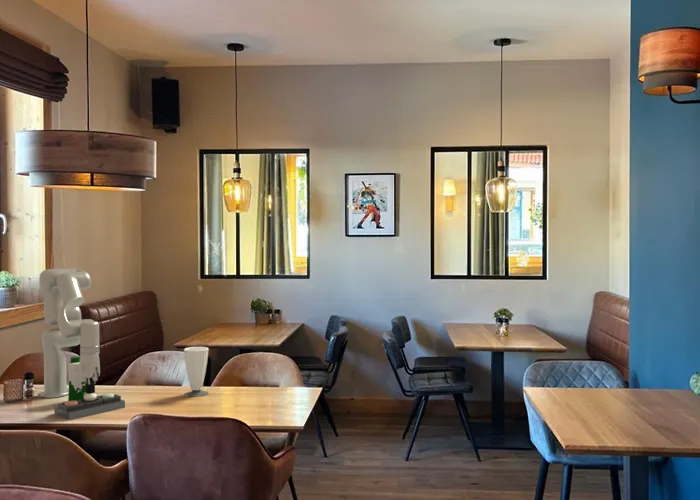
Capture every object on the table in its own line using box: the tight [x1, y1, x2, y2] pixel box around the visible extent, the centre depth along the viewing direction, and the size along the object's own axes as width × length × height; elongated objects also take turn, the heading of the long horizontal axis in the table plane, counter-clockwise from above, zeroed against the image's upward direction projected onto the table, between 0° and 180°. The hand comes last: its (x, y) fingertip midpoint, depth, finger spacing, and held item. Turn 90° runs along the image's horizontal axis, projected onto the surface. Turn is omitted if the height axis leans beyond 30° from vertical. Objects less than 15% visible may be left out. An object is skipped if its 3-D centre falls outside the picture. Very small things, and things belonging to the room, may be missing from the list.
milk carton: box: [66, 356, 87, 401], centre depth 267 cm, size 9×9×20 cm
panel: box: [53, 393, 126, 421], centre depth 253 cm, size 14×24×5 cm, turn 139°
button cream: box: [84, 392, 98, 401], centre depth 253 cm, size 5×5×2 cm
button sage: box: [101, 392, 115, 399], centre depth 259 cm, size 5×5×2 cm
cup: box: [183, 346, 210, 398], centre depth 280 cm, size 12×12×22 cm
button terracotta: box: [64, 400, 78, 407], centre depth 247 cm, size 5×5×2 cm
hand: (90, 393), depth 253 cm, fingers closed
